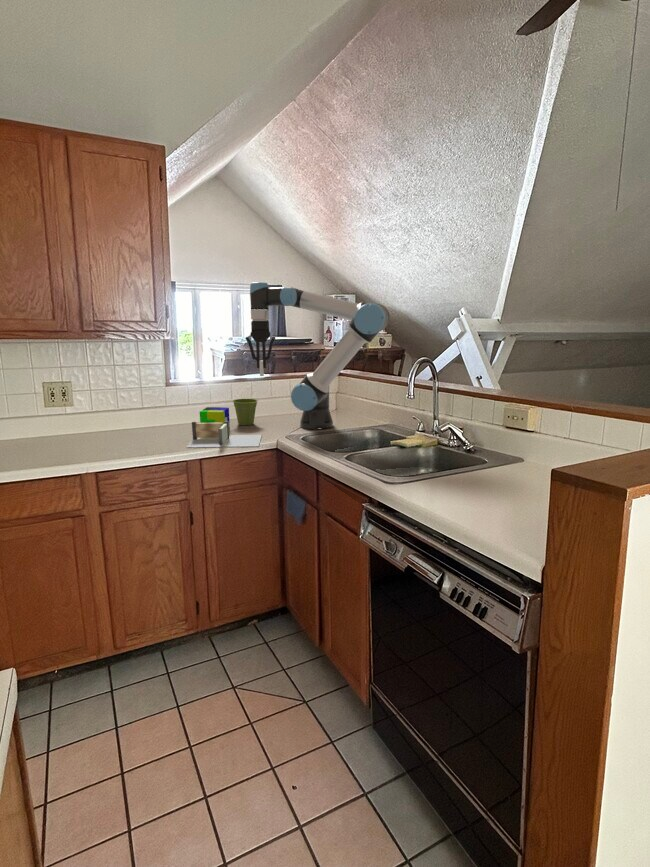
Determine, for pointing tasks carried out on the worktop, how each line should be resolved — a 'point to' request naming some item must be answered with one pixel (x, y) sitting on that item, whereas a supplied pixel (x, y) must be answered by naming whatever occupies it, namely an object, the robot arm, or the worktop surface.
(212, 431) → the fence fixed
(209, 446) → the card
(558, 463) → the worktop surface
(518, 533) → the worktop surface
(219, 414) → the puzzle toy
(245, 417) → the plant pot
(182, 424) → the worktop surface
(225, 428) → the fence panel
